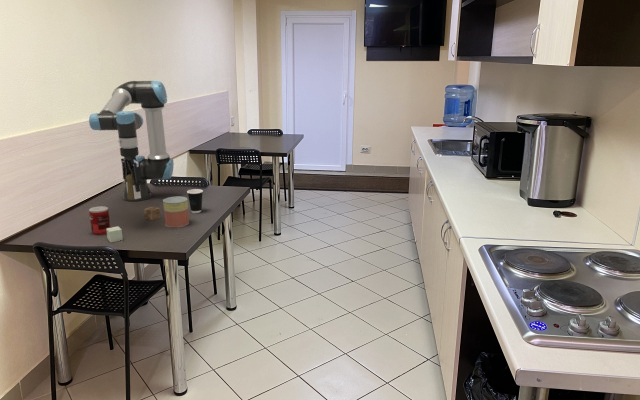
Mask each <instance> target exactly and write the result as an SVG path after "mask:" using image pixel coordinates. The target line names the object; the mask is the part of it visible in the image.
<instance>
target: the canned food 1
mask: <svg viewBox="0 0 640 400" xmlns="http://www.w3.org/2000/svg"><path fill="white" fill-rule="evenodd" d="M88 214H89V219H90V220H89V221H90V229H91V232H92V234H94V235H98V236H99V235H107V231H106V229H107V228H111V221H110V213H109V207H107V206H104V205H103V206H102V205H101V206H93V207H91V208H89V209H88Z"/></svg>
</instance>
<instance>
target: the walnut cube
mask: <svg viewBox="0 0 640 400" xmlns="http://www.w3.org/2000/svg"><path fill="white" fill-rule="evenodd" d="M143 213H144V219H145V220H149V221H155V220H157V219H160V218H161V211H160V208H159V207H155V206H150V207H147V208H144V211H143Z"/></svg>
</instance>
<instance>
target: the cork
mask: <svg viewBox="0 0 640 400" xmlns="http://www.w3.org/2000/svg"><path fill="white" fill-rule="evenodd" d="M126 180H127V182H128V192H127V199H130V200H135V198H134V189H133V185H132V184H134V182H133V178H132V174H129V175H127V176H126ZM138 199H140V198H138Z"/></svg>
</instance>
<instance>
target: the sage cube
mask: <svg viewBox="0 0 640 400" xmlns="http://www.w3.org/2000/svg"><path fill="white" fill-rule="evenodd" d="M106 231H107V233H106V238H107V240H108V241H109V242H110V243H115V242H120V240H121V241H123V240H124V239H123V231H122V228H120V226H119V225H118V226H113V227H110V228H107V229H106Z"/></svg>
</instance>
